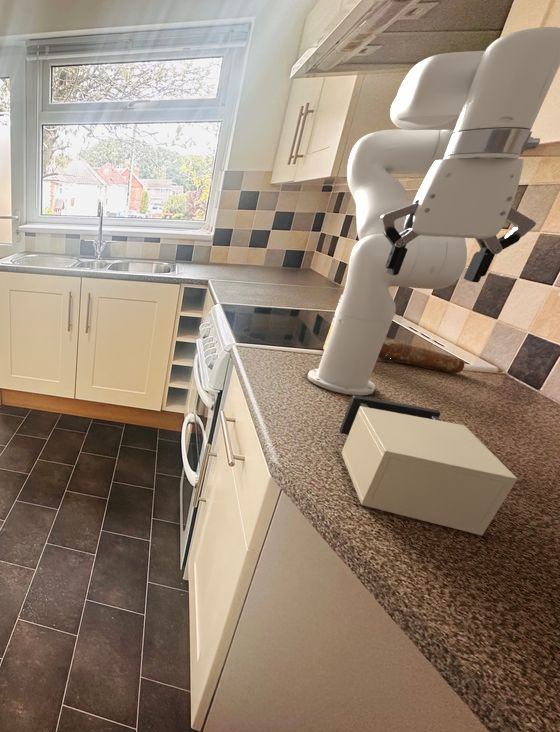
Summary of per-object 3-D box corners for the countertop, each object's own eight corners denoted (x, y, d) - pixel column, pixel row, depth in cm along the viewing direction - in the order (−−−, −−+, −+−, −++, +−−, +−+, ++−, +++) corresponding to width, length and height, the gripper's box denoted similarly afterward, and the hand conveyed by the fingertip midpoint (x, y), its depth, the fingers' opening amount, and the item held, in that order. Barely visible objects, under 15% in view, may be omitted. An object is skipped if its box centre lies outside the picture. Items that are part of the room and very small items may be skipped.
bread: (367, 352, 114) (375, 332, 112) (460, 372, 103) (470, 351, 100) (364, 357, 110) (371, 337, 108) (460, 379, 98) (471, 357, 96)
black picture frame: (334, 419, 75) (347, 385, 72) (411, 434, 71) (428, 399, 68) (355, 469, 61) (372, 429, 58) (452, 491, 57) (475, 449, 54)
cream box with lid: (341, 453, 67) (359, 405, 63) (438, 474, 62) (464, 425, 59) (361, 505, 55) (385, 450, 52) (482, 535, 51) (518, 478, 47)
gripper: (551, 151, 56) (491, 280, 63) (397, 151, 62) (357, 268, 69) (590, 144, 50) (518, 288, 57) (414, 145, 56) (368, 274, 63)
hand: (430, 277), depth 63 cm, fingers open, 9 cm apart
